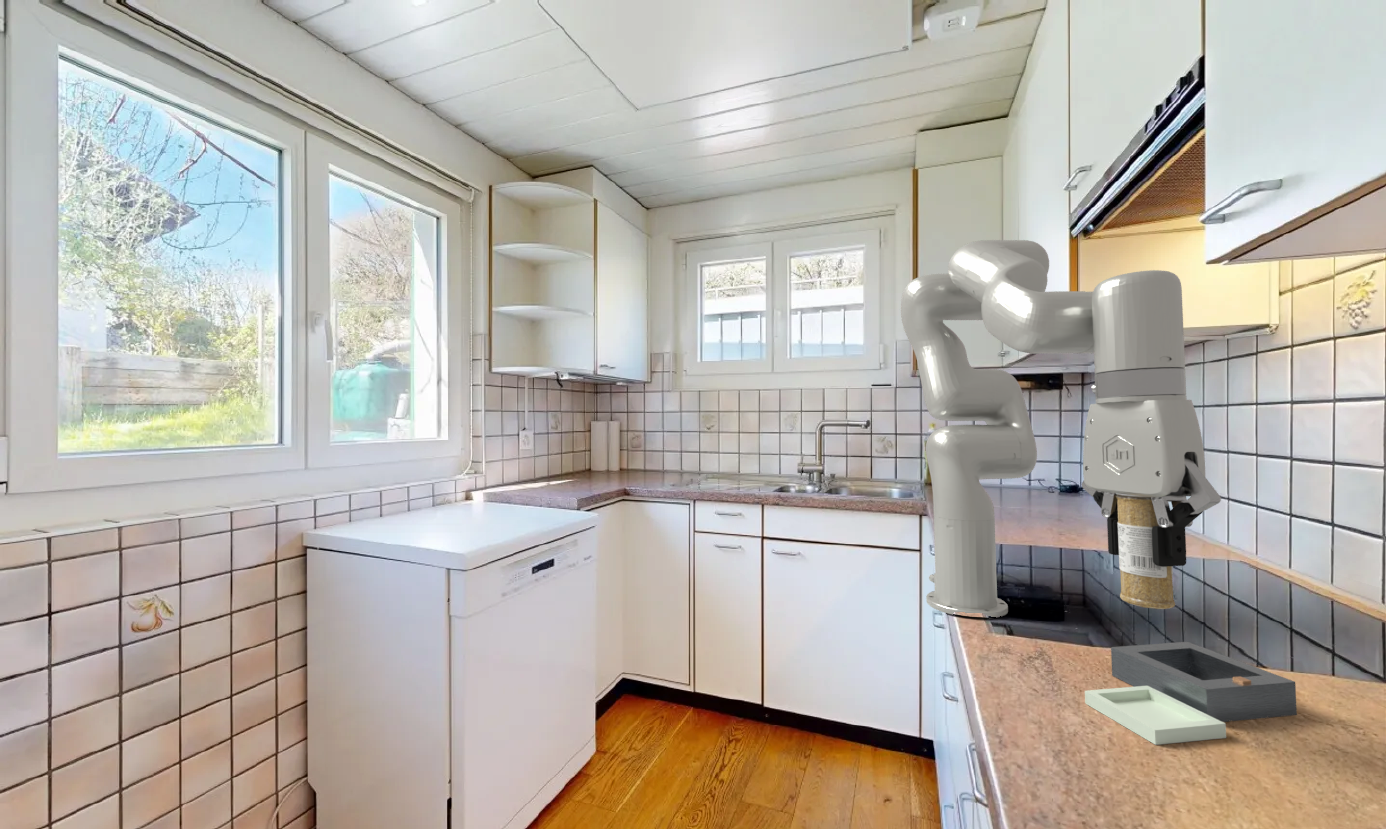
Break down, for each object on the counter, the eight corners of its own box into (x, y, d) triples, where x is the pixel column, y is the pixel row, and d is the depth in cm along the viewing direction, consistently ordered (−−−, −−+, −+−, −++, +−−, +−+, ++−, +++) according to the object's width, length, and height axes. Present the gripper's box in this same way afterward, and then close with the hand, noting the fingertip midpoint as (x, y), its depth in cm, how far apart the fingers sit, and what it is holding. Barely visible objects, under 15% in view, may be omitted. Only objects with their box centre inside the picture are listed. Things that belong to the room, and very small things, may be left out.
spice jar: (1181, 605, 56) (1175, 477, 57) (1166, 613, 54) (1161, 479, 54) (1128, 594, 60) (1123, 474, 60) (1111, 601, 57) (1107, 476, 58)
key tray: (1085, 703, 60) (1084, 690, 60) (1147, 698, 61) (1147, 685, 61) (1155, 744, 52) (1154, 730, 52) (1226, 737, 53) (1225, 723, 53)
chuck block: (1112, 675, 66) (1110, 644, 67) (1188, 669, 68) (1187, 639, 68) (1207, 723, 56) (1206, 686, 56) (1296, 715, 57) (1295, 679, 57)
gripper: (1046, 394, 65) (1051, 544, 65) (1190, 381, 49) (1199, 583, 48) (1100, 394, 66) (1106, 542, 66) (1260, 381, 50) (1270, 579, 49)
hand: (1145, 557), depth 57 cm, fingers closed on spice jar, 4 cm apart
